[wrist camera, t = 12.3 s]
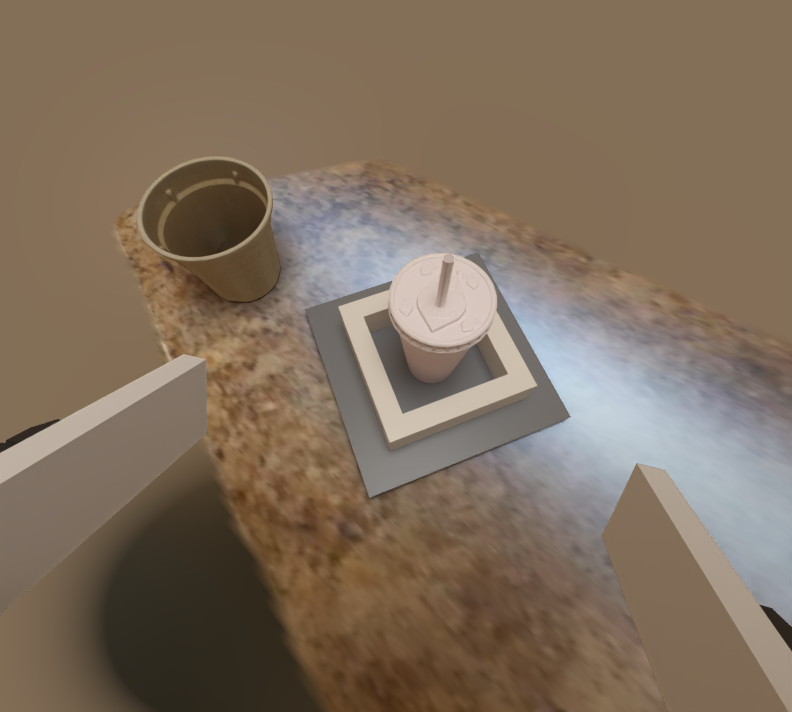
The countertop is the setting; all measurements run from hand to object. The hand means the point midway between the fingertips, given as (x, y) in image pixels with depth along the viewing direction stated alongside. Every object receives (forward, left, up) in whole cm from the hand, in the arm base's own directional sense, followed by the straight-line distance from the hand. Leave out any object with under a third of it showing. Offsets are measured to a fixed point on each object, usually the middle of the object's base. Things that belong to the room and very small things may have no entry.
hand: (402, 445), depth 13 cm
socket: (+9, -6, -19) cm, 21 cm away
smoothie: (+8, -6, -18) cm, 21 cm away
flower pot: (+23, +6, -19) cm, 30 cm away
